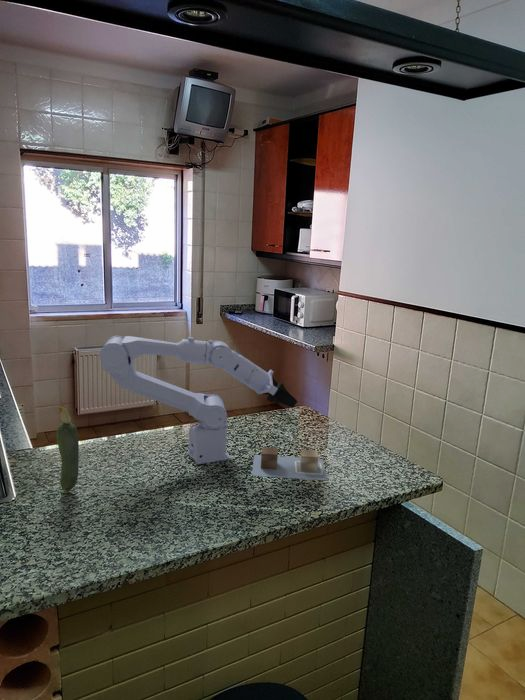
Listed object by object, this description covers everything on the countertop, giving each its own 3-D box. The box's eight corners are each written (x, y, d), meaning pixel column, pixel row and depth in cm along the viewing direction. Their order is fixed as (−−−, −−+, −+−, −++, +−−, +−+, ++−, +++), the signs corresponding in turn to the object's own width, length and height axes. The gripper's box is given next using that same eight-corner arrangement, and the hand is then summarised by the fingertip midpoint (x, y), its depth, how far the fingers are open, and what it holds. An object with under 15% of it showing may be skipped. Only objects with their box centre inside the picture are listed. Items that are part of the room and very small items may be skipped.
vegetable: (81, 488, 112) (79, 402, 108) (78, 497, 108) (75, 409, 104) (60, 488, 112) (57, 402, 107) (56, 498, 107) (52, 409, 103)
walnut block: (260, 468, 125) (261, 453, 124) (261, 461, 129) (262, 447, 128) (276, 469, 125) (277, 454, 124) (276, 462, 129) (277, 448, 128)
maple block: (300, 471, 125) (302, 456, 124) (300, 464, 129) (301, 449, 128) (317, 472, 125) (318, 457, 124) (315, 465, 129) (317, 450, 128)
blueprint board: (251, 477, 121) (251, 475, 121) (254, 456, 133) (254, 454, 133) (326, 482, 121) (326, 479, 121) (322, 461, 133) (322, 458, 133)
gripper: (264, 364, 122) (307, 394, 125) (251, 356, 136) (291, 383, 139) (248, 389, 122) (292, 417, 125) (236, 378, 136) (276, 404, 139)
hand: (290, 401), depth 132 cm, fingers open, 7 cm apart
